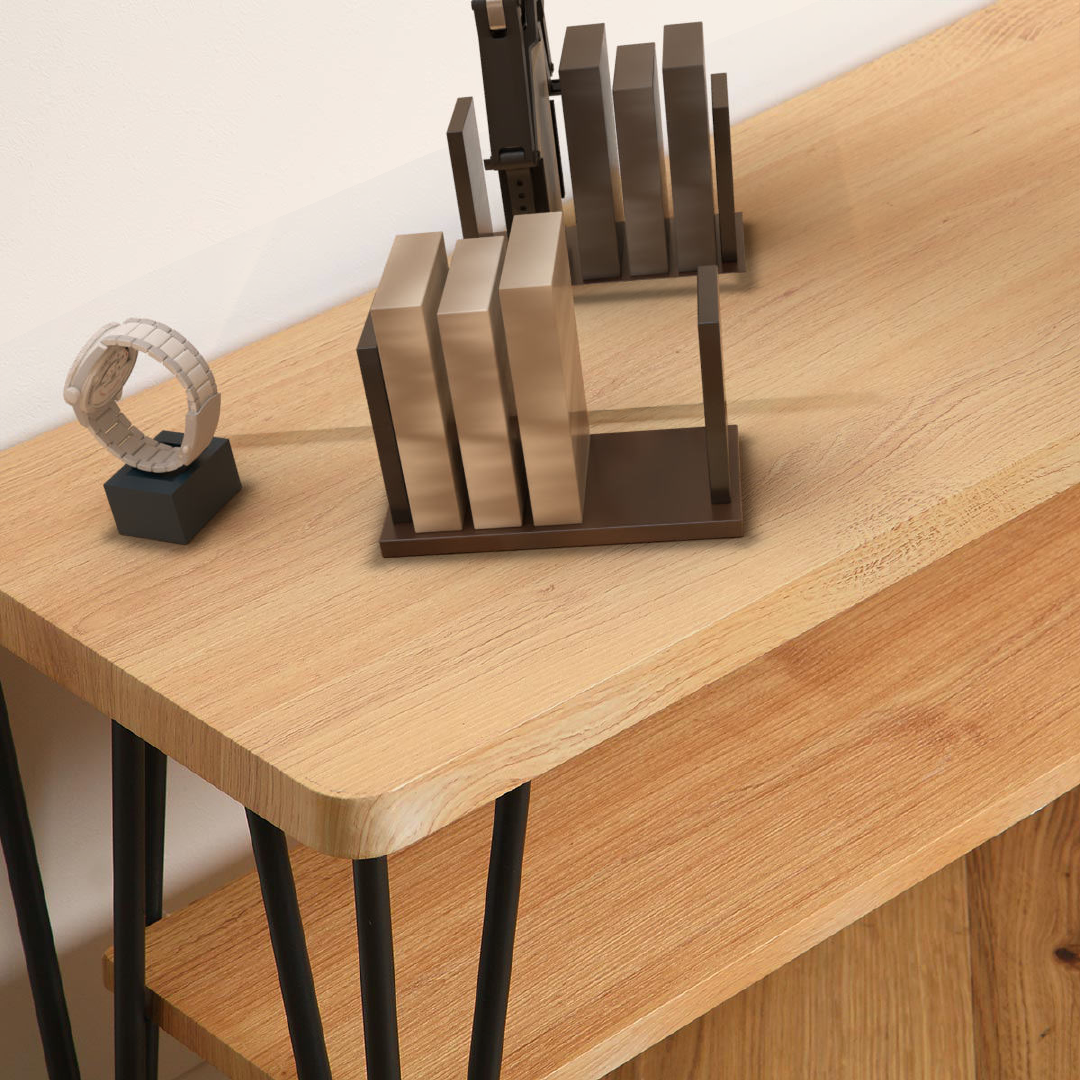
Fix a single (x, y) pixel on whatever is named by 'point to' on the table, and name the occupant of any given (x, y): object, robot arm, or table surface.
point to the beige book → (545, 128)
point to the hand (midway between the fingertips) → (539, 228)
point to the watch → (171, 457)
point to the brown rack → (525, 409)
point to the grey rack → (629, 161)
